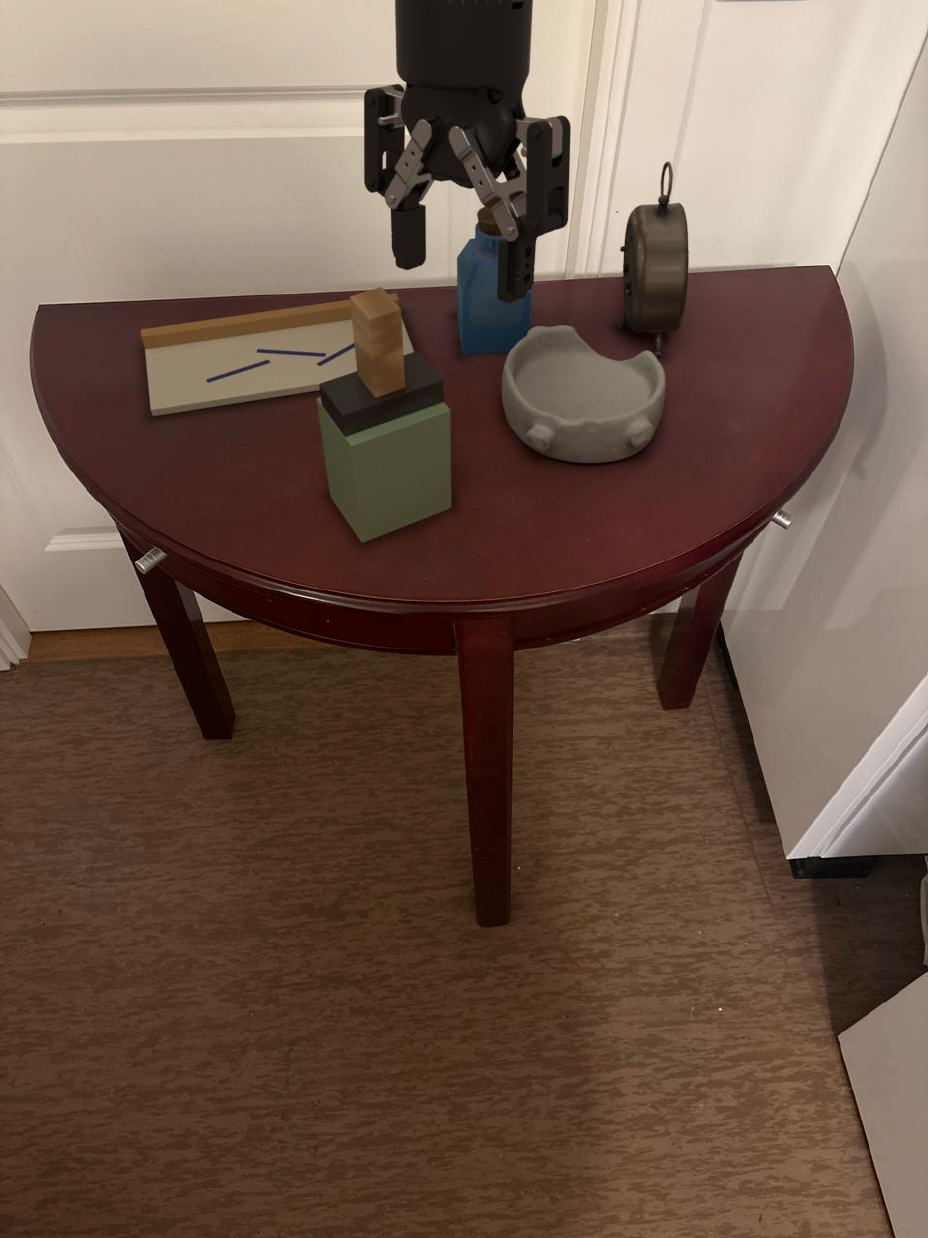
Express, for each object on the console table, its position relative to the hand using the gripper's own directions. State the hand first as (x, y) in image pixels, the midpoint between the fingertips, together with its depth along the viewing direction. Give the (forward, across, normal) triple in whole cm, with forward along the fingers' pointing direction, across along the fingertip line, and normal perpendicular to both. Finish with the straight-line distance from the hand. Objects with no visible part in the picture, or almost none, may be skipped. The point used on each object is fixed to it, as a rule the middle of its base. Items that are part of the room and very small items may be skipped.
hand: (460, 282), depth 64 cm
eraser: (+10, -7, 0) cm, 12 cm away
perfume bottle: (+15, -16, +24) cm, 32 cm away
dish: (+18, -3, +19) cm, 26 cm away
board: (+16, -28, +8) cm, 33 cm away
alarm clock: (+15, -6, +34) cm, 37 cm away
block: (+20, -8, +1) cm, 22 cm away
